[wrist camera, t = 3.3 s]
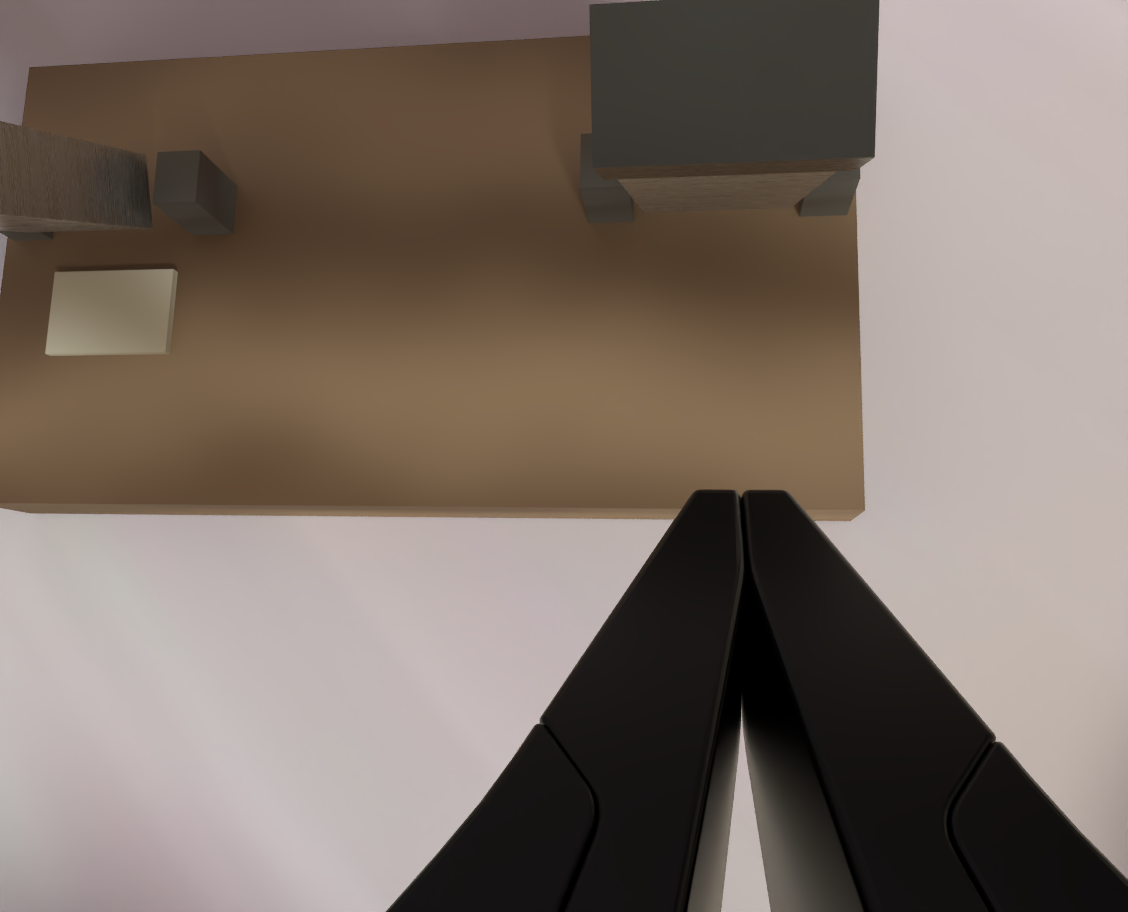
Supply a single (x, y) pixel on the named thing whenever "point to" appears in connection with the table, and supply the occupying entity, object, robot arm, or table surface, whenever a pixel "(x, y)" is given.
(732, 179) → the lever
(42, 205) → the lever
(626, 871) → the robot arm
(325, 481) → the switch box
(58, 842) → the table surface
